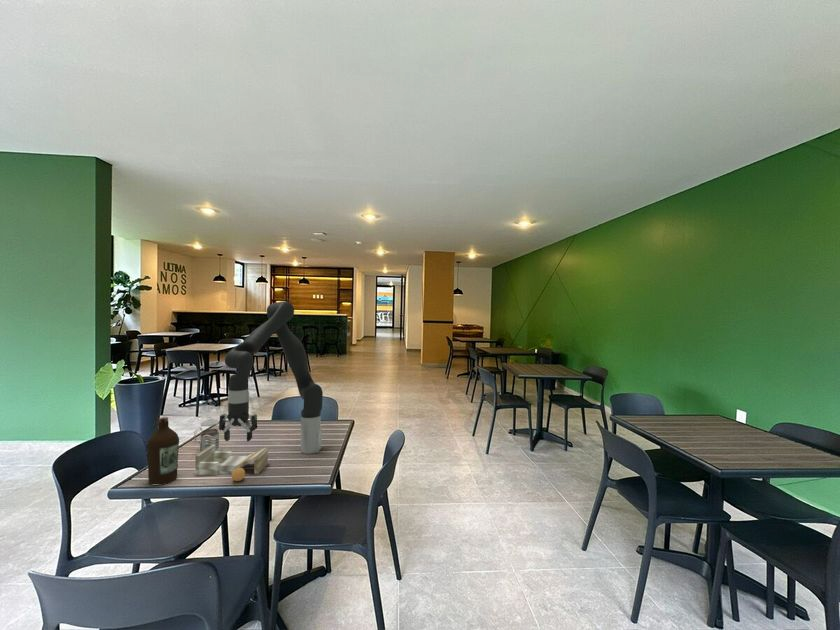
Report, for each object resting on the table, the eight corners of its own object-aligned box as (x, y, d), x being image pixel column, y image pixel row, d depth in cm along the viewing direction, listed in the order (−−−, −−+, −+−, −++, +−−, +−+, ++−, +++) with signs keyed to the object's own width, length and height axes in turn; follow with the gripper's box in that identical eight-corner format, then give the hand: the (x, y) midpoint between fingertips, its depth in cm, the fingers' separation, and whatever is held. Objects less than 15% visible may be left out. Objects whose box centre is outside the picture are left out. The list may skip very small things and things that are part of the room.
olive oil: (140, 483, 144) (140, 420, 143) (168, 472, 153) (168, 413, 153) (157, 488, 139) (157, 423, 139) (184, 477, 149) (185, 416, 149)
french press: (224, 450, 177) (224, 399, 177) (197, 457, 169) (197, 404, 168) (217, 445, 184) (217, 396, 184) (190, 452, 175) (191, 400, 175)
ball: (247, 477, 149) (247, 465, 149) (241, 483, 144) (241, 471, 144) (235, 477, 149) (235, 465, 149) (228, 483, 144) (229, 471, 144)
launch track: (268, 462, 164) (269, 445, 164) (257, 475, 152) (257, 456, 152) (211, 462, 164) (212, 444, 163) (195, 475, 151) (195, 455, 151)
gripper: (260, 398, 150) (259, 437, 150) (225, 398, 150) (225, 437, 150) (252, 403, 143) (251, 444, 143) (215, 402, 143) (215, 443, 143)
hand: (238, 440), depth 147 cm, fingers open, 8 cm apart
